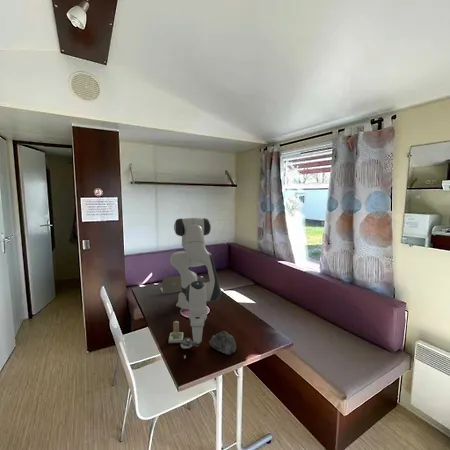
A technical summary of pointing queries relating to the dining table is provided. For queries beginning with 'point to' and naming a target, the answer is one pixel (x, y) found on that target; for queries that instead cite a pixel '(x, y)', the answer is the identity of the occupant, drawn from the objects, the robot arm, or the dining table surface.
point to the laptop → (171, 284)
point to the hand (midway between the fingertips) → (198, 340)
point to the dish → (176, 339)
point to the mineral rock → (223, 342)
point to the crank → (189, 342)
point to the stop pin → (175, 330)
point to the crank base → (185, 347)
